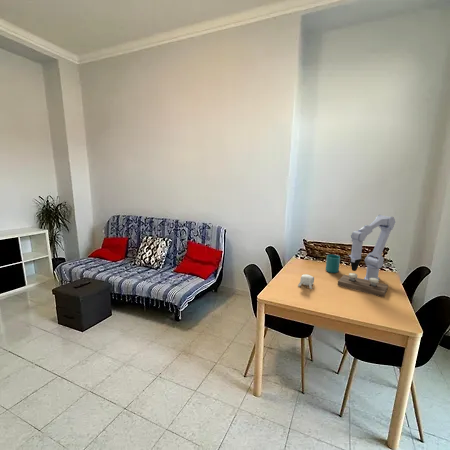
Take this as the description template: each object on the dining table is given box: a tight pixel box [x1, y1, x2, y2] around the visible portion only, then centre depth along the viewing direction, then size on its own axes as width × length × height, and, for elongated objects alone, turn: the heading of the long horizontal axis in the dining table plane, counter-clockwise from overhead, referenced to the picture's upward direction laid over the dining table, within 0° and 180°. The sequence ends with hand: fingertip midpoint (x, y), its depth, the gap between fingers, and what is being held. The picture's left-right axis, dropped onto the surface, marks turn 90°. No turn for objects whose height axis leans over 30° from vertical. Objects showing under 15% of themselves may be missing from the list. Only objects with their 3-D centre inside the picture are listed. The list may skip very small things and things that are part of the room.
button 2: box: [369, 278, 380, 287], centre depth 165 cm, size 5×5×4 cm
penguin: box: [297, 274, 315, 290], centre depth 169 cm, size 9×8×15 cm
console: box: [337, 274, 389, 298], centre depth 170 cm, size 14×26×3 cm, turn 51°
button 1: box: [348, 272, 358, 282], centre depth 172 cm, size 5×5×4 cm
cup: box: [325, 254, 341, 274], centre depth 197 cm, size 9×12×11 cm
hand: (354, 270), depth 173 cm, fingers open, 2 cm apart
